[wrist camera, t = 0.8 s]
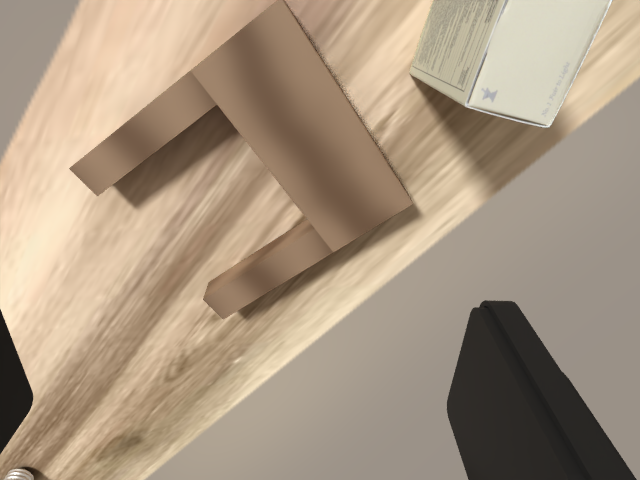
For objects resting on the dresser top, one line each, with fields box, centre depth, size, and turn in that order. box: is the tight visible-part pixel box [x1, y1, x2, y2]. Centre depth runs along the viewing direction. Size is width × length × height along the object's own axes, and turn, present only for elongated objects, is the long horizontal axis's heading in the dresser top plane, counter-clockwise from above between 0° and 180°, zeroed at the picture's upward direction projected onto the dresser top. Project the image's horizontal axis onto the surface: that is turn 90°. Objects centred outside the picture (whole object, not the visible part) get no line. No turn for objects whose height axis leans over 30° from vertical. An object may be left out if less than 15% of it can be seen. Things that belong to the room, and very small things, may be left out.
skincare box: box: [409, 0, 612, 128], centre depth 24 cm, size 6×4×12 cm
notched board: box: [69, 0, 413, 319], centre depth 32 cm, size 18×16×2 cm
